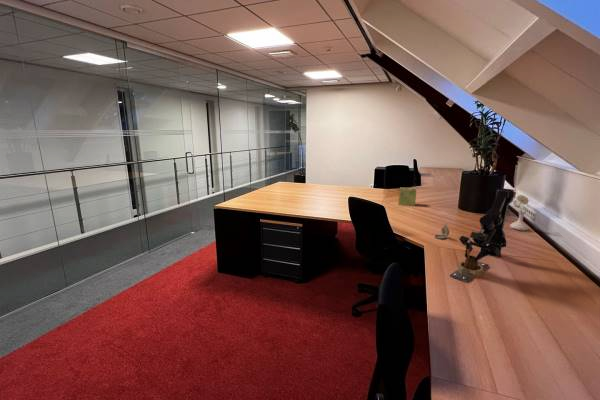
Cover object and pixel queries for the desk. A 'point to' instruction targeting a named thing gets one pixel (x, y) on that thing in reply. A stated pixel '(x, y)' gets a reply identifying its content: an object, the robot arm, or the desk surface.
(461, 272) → the wooden ring bracket
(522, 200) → the flower in vase
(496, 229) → the robot arm
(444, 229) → the pocket watch
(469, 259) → the utensil holder
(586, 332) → the desk surface
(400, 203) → the protein box
